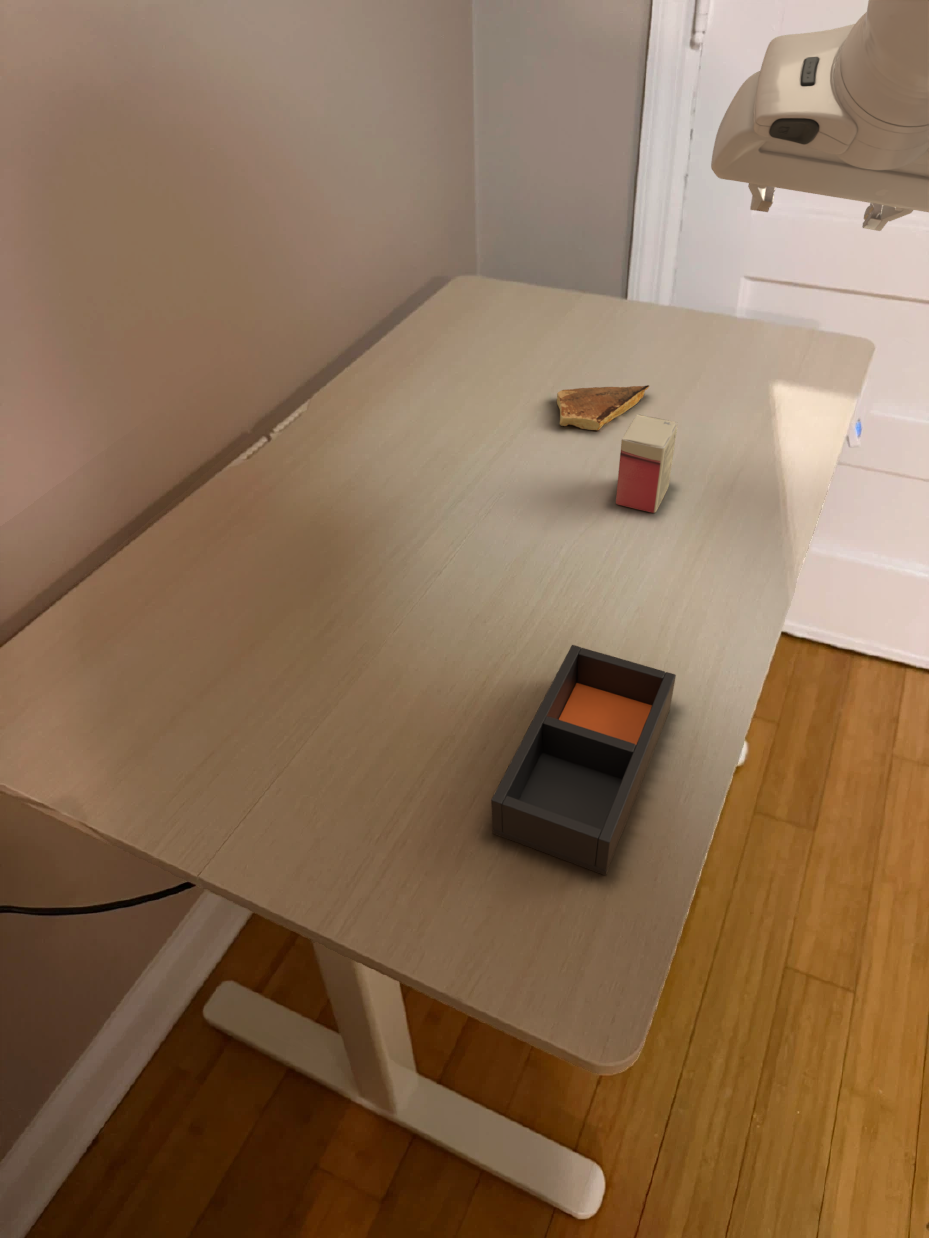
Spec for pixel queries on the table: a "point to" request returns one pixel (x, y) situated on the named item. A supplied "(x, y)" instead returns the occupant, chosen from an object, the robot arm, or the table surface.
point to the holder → (583, 758)
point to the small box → (645, 462)
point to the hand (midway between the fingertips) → (815, 213)
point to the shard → (596, 405)
